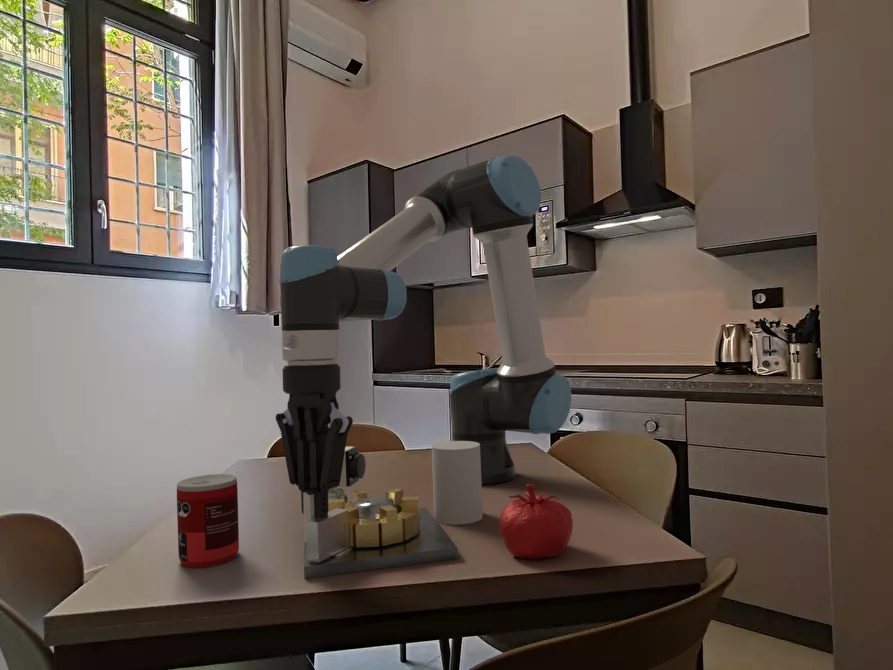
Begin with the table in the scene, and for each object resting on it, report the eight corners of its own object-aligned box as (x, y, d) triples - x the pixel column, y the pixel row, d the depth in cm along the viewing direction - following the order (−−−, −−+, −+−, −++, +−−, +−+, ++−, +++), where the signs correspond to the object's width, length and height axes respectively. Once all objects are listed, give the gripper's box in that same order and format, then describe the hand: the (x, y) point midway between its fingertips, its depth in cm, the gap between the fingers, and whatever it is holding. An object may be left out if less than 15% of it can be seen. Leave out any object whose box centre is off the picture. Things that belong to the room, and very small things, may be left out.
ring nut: (366, 513, 93) (365, 482, 93) (436, 523, 86) (435, 490, 86) (275, 553, 76) (274, 515, 76) (353, 569, 69) (352, 528, 69)
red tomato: (575, 568, 72) (573, 495, 72) (496, 564, 74) (494, 493, 74) (571, 539, 82) (570, 475, 82) (502, 537, 84) (500, 474, 84)
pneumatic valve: (358, 513, 99) (356, 444, 99) (296, 512, 101) (294, 444, 101) (369, 504, 104) (366, 439, 104) (309, 503, 106) (307, 439, 107)
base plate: (426, 516, 96) (425, 480, 96) (457, 558, 76) (455, 513, 76) (304, 530, 91) (303, 492, 91) (304, 578, 71) (302, 530, 71)
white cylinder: (488, 511, 97) (485, 441, 98) (474, 526, 90) (472, 450, 90) (443, 508, 100) (441, 440, 100) (427, 522, 92) (424, 448, 93)
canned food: (190, 550, 83) (188, 475, 83) (245, 546, 84) (243, 472, 84) (169, 571, 76) (166, 488, 76) (230, 566, 76) (228, 484, 77)
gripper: (257, 364, 76) (261, 539, 76) (322, 364, 69) (327, 559, 69) (302, 361, 83) (305, 523, 82) (366, 361, 75) (370, 540, 75)
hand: (315, 539), depth 75 cm, fingers closed
